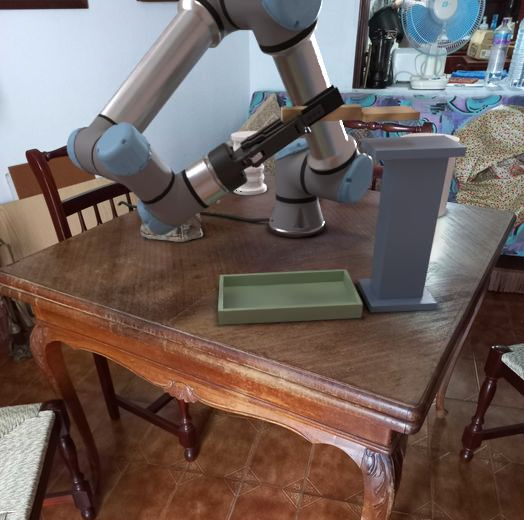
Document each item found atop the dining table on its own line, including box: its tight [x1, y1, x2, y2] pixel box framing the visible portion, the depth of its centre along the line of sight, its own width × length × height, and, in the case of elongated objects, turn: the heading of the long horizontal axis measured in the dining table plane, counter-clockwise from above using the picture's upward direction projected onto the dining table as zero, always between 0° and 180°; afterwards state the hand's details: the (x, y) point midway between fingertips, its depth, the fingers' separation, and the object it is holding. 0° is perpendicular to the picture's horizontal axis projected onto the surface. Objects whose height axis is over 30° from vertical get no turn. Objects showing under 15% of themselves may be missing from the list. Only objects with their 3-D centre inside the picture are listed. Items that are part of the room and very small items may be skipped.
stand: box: [356, 135, 468, 314], centre depth 89 cm, size 15×12×30 cm
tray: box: [217, 268, 364, 326], centre depth 96 cm, size 28×16×3 cm, turn 93°
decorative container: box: [230, 130, 268, 196], centre depth 158 cm, size 12×12×18 cm
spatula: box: [280, 103, 421, 123], centre depth 78 cm, size 22×7×2 cm, turn 93°
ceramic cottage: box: [140, 213, 204, 243], centre depth 127 cm, size 16×16×15 cm
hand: (338, 94), depth 76 cm, fingers closed on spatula, 3 cm apart
